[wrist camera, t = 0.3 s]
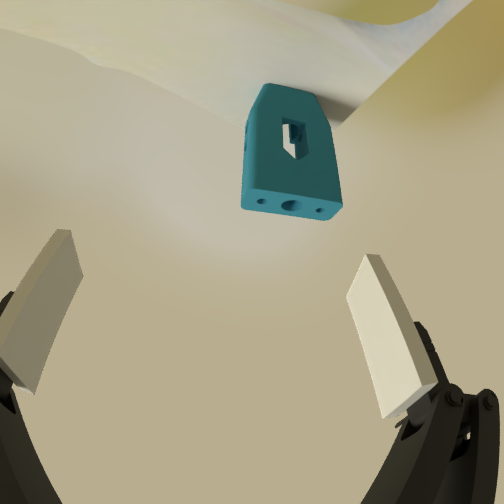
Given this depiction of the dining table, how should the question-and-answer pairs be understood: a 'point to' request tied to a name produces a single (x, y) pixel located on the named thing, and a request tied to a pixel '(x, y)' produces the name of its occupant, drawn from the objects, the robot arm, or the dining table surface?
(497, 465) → the robot arm
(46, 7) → the dining table surface
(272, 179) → the block
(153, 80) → the dining table surface
